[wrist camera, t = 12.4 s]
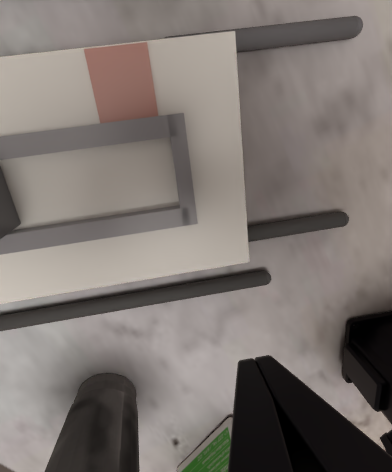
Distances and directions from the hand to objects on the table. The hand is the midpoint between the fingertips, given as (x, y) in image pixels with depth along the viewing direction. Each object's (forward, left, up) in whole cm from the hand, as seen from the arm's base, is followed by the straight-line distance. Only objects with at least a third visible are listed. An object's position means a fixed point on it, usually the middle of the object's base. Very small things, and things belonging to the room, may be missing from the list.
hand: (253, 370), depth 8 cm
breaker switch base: (+7, -4, -13) cm, 15 cm away
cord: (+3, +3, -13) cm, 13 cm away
